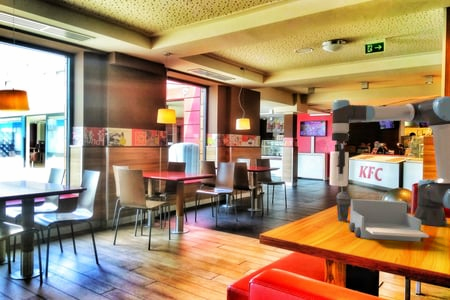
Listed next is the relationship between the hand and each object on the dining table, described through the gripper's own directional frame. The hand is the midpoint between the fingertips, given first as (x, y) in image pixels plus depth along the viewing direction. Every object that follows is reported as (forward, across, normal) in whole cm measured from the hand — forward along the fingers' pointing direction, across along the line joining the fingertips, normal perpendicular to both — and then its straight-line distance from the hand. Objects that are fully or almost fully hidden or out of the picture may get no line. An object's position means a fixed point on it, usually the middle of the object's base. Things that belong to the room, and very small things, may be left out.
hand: (338, 179), depth 157 cm
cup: (+3, 0, 0) cm, 3 cm away
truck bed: (+23, +7, +19) cm, 30 cm away
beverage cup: (+23, -17, +5) cm, 29 cm away
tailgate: (+19, +16, +19) cm, 31 cm away
